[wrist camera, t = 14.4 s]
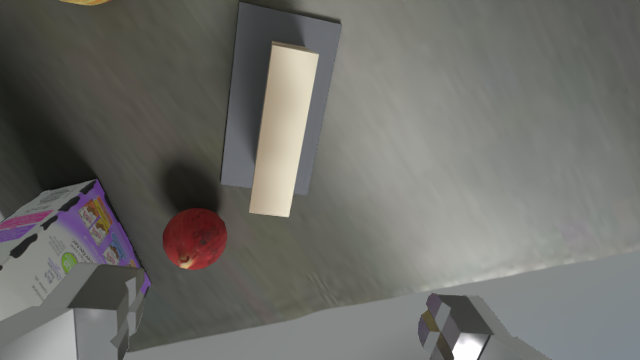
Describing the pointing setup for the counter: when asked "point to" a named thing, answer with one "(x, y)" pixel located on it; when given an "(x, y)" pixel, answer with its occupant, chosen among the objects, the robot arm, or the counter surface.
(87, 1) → the sauce bottle
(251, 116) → the felt pad
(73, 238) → the candy box
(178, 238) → the onion
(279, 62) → the pale wooden block
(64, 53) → the counter surface
